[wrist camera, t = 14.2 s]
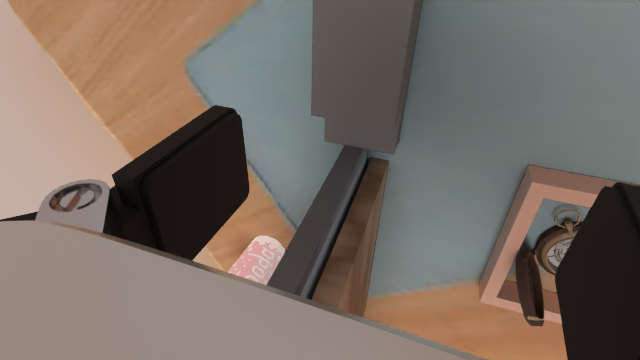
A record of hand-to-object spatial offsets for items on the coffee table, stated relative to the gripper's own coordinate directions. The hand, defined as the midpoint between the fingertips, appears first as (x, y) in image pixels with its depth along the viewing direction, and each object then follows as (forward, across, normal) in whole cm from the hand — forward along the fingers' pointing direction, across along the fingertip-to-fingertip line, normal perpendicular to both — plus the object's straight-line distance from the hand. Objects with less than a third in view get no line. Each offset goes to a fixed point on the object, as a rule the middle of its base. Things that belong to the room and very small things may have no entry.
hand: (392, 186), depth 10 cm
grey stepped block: (+21, +6, +4) cm, 22 cm away
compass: (+22, -13, +17) cm, 31 cm away
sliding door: (+21, +6, +18) cm, 28 cm away
